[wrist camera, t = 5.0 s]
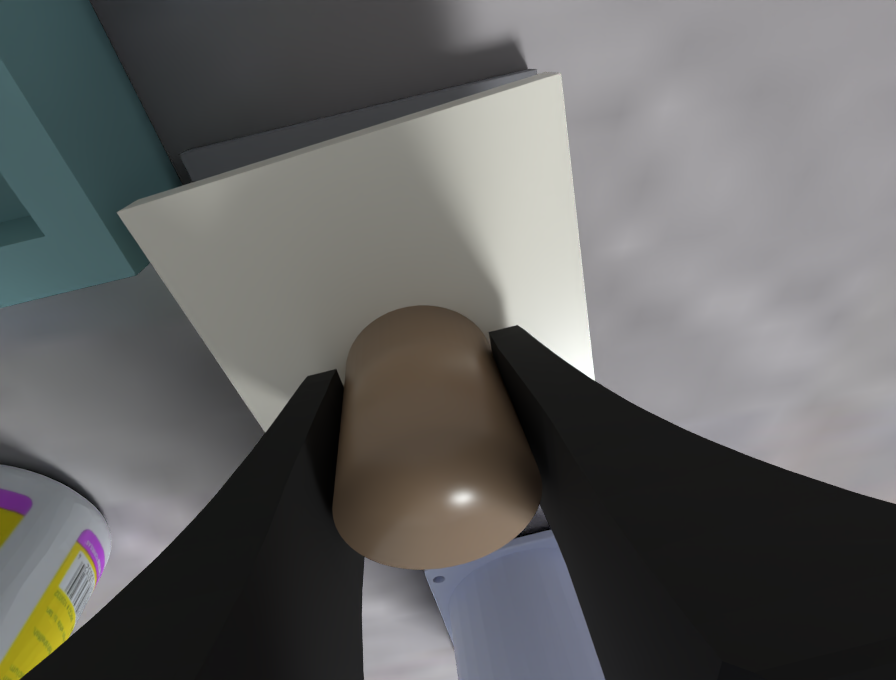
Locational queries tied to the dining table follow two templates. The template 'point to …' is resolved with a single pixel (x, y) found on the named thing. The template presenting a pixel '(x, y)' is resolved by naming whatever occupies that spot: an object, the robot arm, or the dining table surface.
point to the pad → (324, 129)
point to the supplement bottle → (44, 565)
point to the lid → (394, 304)
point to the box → (68, 153)
